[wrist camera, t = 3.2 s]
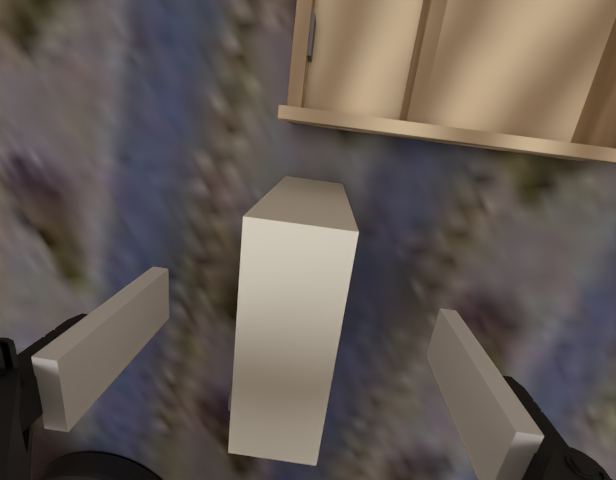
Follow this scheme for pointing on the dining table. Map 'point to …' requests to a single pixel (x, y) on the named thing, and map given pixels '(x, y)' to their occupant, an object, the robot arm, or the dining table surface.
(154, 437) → the dining table surface
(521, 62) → the cabinet carcass
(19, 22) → the dining table surface
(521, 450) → the robot arm
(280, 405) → the plain off-white rectangular block
